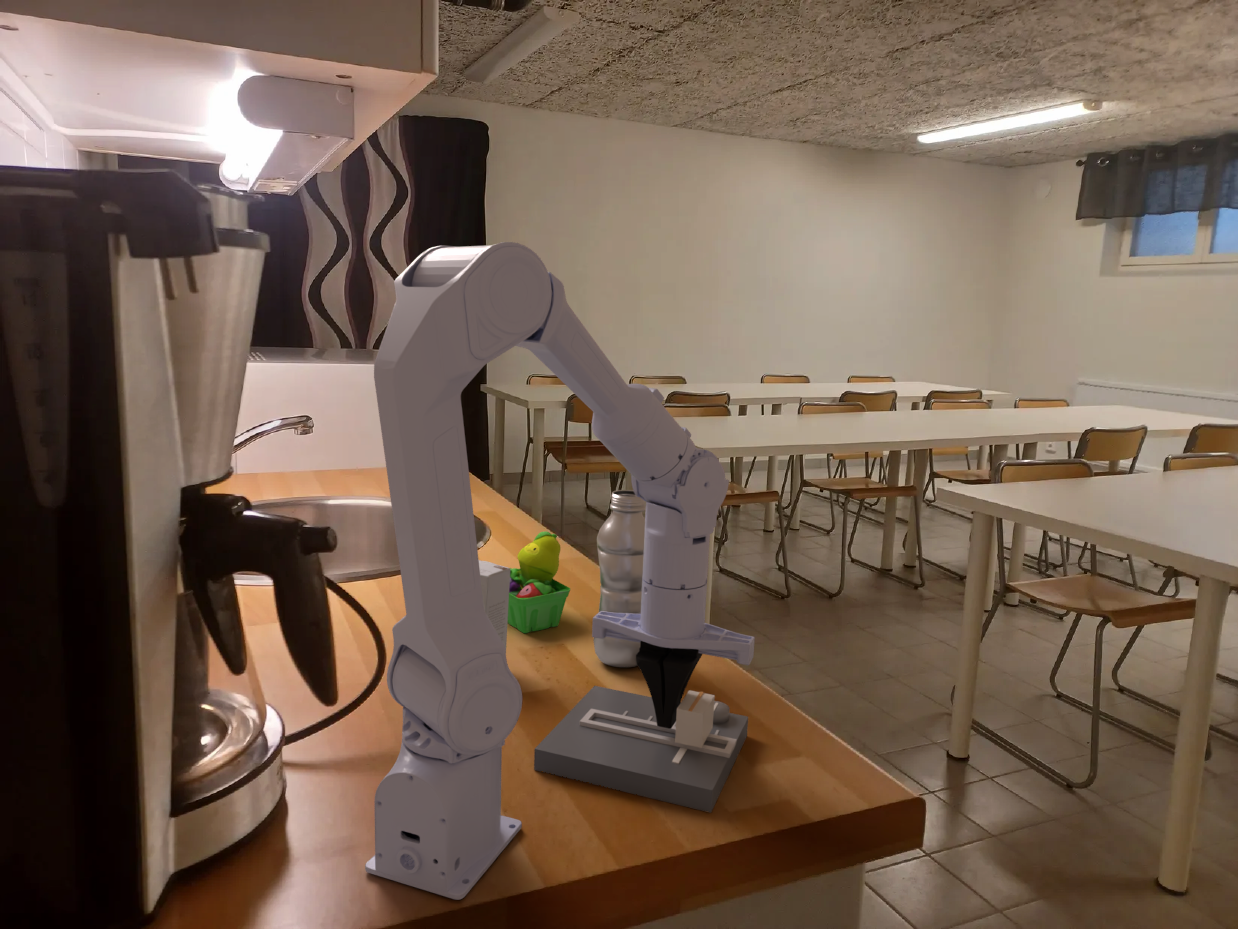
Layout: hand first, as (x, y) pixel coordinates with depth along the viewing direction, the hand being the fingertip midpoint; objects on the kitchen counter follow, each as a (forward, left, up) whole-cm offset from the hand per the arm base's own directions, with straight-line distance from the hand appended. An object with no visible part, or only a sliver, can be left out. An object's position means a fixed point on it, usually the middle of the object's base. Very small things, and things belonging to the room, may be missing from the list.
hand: (667, 722), depth 78 cm
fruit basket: (+26, +27, -4) cm, 38 cm away
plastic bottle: (+18, +11, -3) cm, 21 cm away
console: (0, +2, -3) cm, 4 cm away
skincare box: (+9, +25, -3) cm, 27 cm away
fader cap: (0, -3, -1) cm, 3 cm away
